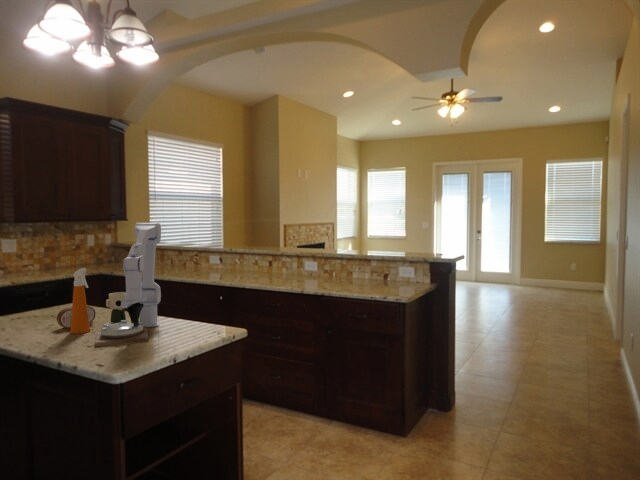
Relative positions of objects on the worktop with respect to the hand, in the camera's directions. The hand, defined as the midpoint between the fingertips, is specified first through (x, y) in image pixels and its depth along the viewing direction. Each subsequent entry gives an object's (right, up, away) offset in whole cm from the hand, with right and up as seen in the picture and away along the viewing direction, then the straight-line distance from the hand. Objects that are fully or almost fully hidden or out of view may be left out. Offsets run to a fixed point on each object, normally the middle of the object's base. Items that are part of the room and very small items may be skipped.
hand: (134, 322), depth 175 cm
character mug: (-17, -5, +24) cm, 29 cm away
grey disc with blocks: (-5, -4, +1) cm, 7 cm away
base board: (-5, -6, +1) cm, 8 cm away
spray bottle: (-24, -6, +8) cm, 27 cm away
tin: (-32, -5, +18) cm, 37 cm away
